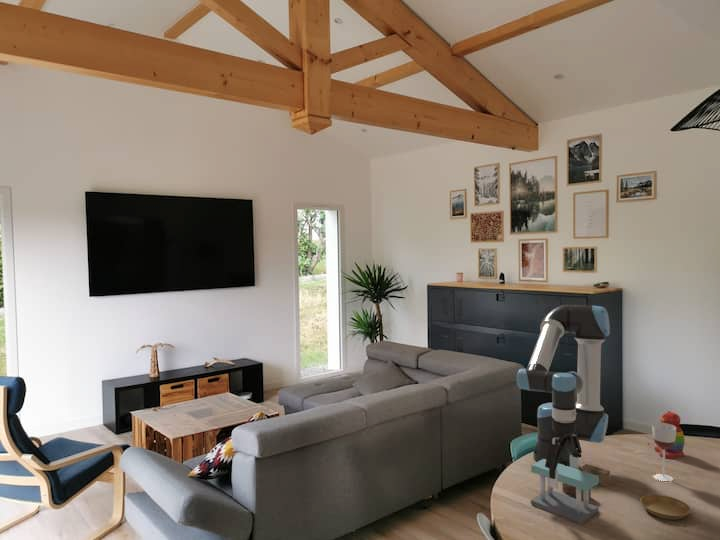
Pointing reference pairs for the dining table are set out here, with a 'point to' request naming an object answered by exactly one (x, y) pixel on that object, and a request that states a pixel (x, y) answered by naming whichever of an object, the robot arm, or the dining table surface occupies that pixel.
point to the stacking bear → (679, 441)
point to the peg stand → (565, 503)
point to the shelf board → (568, 475)
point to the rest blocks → (603, 474)
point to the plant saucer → (665, 506)
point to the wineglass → (664, 443)
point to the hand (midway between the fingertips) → (564, 481)
